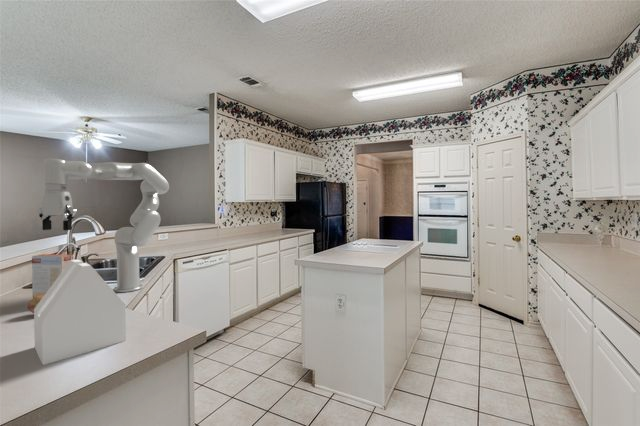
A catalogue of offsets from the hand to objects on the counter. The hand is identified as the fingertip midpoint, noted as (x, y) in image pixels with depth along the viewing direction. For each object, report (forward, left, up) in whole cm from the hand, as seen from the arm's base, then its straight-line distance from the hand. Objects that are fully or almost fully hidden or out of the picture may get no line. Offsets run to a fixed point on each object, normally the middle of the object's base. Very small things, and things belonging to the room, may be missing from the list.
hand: (57, 229), depth 127 cm
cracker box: (-4, -7, -32) cm, 33 cm away
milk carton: (+30, +41, -32) cm, 61 cm away
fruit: (+9, +3, -32) cm, 34 cm away
